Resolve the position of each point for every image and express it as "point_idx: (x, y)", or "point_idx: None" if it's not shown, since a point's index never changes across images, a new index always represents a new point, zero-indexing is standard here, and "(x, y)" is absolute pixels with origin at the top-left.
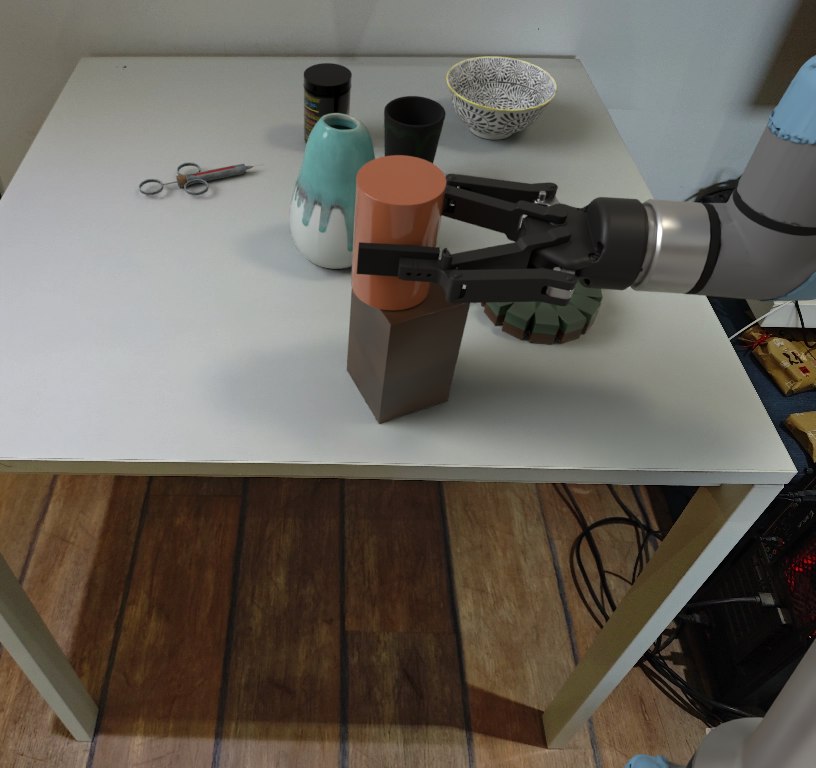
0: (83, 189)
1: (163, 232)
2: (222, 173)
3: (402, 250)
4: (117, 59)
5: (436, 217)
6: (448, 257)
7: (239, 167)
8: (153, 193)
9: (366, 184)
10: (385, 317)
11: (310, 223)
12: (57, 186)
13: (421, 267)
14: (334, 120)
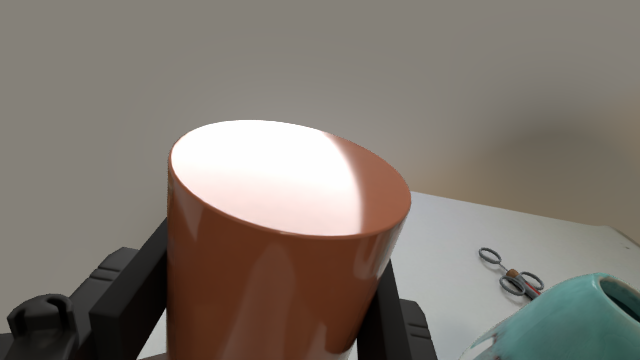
0: (464, 224)
1: (442, 265)
2: None
3: (150, 241)
4: (631, 244)
5: (192, 270)
6: (17, 307)
7: None
8: (482, 256)
9: (277, 126)
10: (160, 354)
11: (473, 349)
12: (459, 213)
13: (84, 283)
14: (637, 304)
